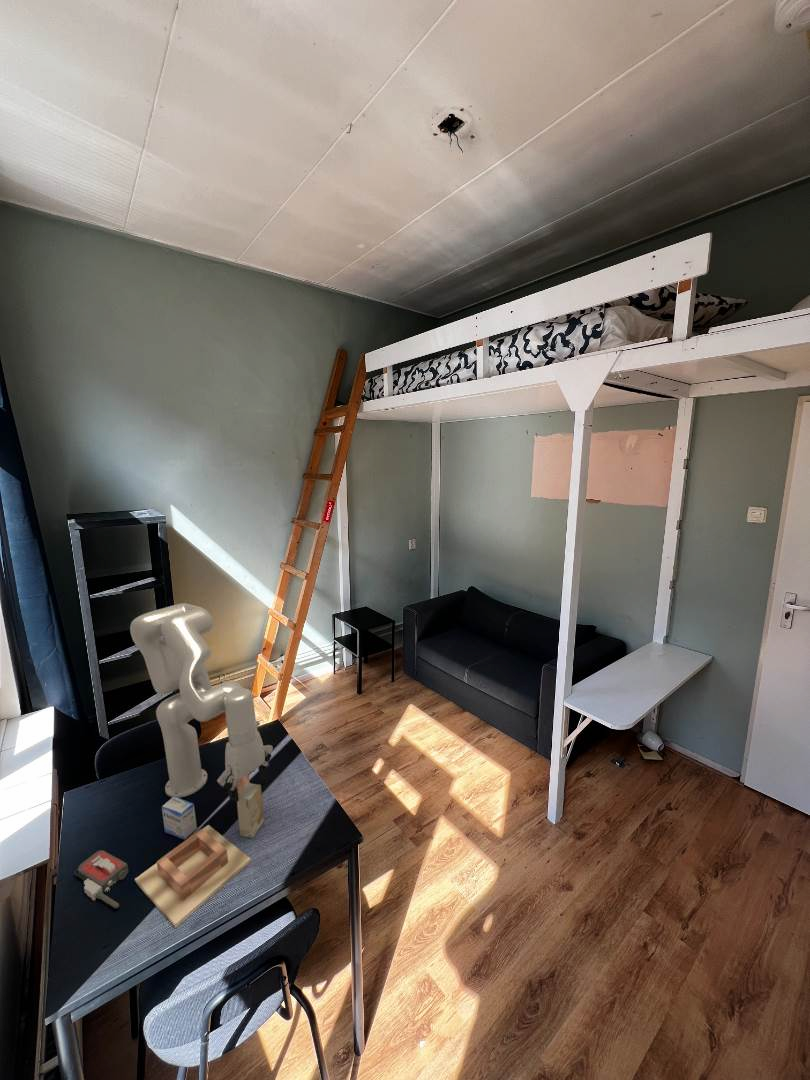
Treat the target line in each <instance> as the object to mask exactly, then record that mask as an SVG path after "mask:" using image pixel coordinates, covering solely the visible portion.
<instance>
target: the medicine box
mask: <svg viewBox="0 0 810 1080" xmlns="http://www.w3.org/2000/svg"><path fill="white" fill-rule="evenodd" d="M161 811H162V818H163V819H162V820H163V826H164V827H163V828H164V833H166V834H167V835H171V836H173V837H177V838H179V839H180V840H181V839H182V840H184V841H185V840H187V839H188V838H189V837H190V836H192V835H193V834H192V833H195V831H196V830H197V829H198V826H197V819H196V811H195V803H193V802H190V801H187V800H184V799H182V798H177V797H171V798H170V799H169V800H168V801H166V802H165V804H163V805H162V806H161Z"/></svg>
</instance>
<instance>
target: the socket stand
mask: <svg viewBox="0 0 810 1080" xmlns="http://www.w3.org/2000/svg"><path fill="white" fill-rule="evenodd" d="M251 862H252V859H251V857H249V856H248V855H247V854H246V853H244V852H243V851H241V849H239V848H238V847H237V846H236V845H234V844H233V843H232V842H230V841H229V840H228V839H227V838H226V837H224V836H223V835H222V834H220V833H219V832H218V831H217V830H215V828H213V827H212V826H211V825H209V824H208V825H206V826H204V827H203V828H200V829H199V830H197V831H196V832H194V834H191V835H190V836H188V837H187V838H186V839H185V840H184V841H182V842H181V843H180V844H178V846H176V847H174V848H173V849H172V850H170V851H168V852H167V853H166V854H165V855H163V856H162V857H161V858H160V859H158V860H157V861H156V863H155V864H153V865H152V866H150V867H149V868H148V869H146V870H145V871H144V872H142V873H141V874H140V875H139V876H137V877H135V878H134V882H136V883H135V884H136V885H137V886H138V887H139V888H140V889H141V890H142V892H143V893H144V894H145V896H146V897H148V898H149V899H150V901H151V902H152V903H153V904H154V906H156V908H157V909H159V911H160V912H161V913H162V914H163V916H164V917H166V918H167V920H168V921H169V922H170V923H171V924H172V926H174V928H175V929H177V928H178V927H179V926H180V925H181V924H182V923H183V922H185V921H186V920H187V919H188V918H189V917H190V916H191V915H193V914H194V912H196V911H197V910H198V909H199V908H200V907H202V906H203V905H204V904H205V903H206V902H208V900H209V899H211V898H212V897H213V896H214V895H215V894H216V893H217V892H219V891H220V890H221V889H222V888H223V887H225V885H226V884H228V883H229V882H230V881H231V880H233V878H235V876H237V875H238V874H239V873H240V872H241V871H242V870H244V869H245V868H246V867H247V866H248V865H249V864H251Z"/></svg>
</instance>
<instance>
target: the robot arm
mask: <svg viewBox="0 0 810 1080" xmlns="http://www.w3.org/2000/svg"><path fill="white" fill-rule="evenodd" d="M129 628H130V629H129V632H130V635H131V639H132V641H133V642H134V645H135V646H136V647H137V649H138V650H139V652H140V653H141V654H142V656H143V659H144V661H145V665H146V668H147V671H148V674H149V678H150V680H151V684H152V687H153V689H154V691H155V692H156V693H157V694H159V695H166V694H170V693H172V692H174V691H175V692H176V691H178V690H179V692H178V693H176V694H174V695H172V696H170V697H168V698H166V699H164V700H162V701H161V702H160V704H158V705H157V708H156V711H155V712H156V713H155V715H156V719H157V721H158V724H159V726H160V730H161V733H162V738H163V745H164V752H165V759H166V764H167V772H168V778H169V780H168V781H167V782H166V783H165V787H164V790H165V794H166V795H167V797H170V798H173V797H177V798H179V799H181V798H183V797H188V796H190V795H192V794H195V793H196V792H198V791H199V790H200V789H202V788H204V786H205V784H206V783H207V781H208V773H207V771H206V770H205V769H203V768H202V763H201V757H200V755H201V754H200V749H199V741H198V734H197V733H198V732H197V731H196V728H195V727H194V726H192V725H190V724H189V722H190V721H191V720H194V719H195V720H196V721H198V722H201V723H205V722H209V721H210V720H213V719H214V718H216V717H218V716H220V715H221V714H225V721H226V729H227V730H226V731H227V737H228V742H226V744H225V751H224V753H225V754H224V760H225V761H224V765H225V766H224V767H225V770H224V771H223V772H222V773H221V775H219V777H218V778H217V780H216V781H217V783H218V784H219V786H221V787H222V788H223V789H227V792H228V797H229V799H230V800H231V801H234V802H235V803H237V802H238V801H239V796H238V789H237V783H238V781H239V780H240V779H241V778H243V777H244V776H246V775H247V774H250V773H253V770H255V769H256V770H257V768H258V774H259V778H260V779H262V780H264V781H269V776H268V775H269V771H268V767H269V765H270V763H269V762H270V760H271V757H272V753H273V750H274V749H273V748H274V747H273V745H271V744H266V745H264V743H263V739H262V737H261V734H260V732H259V730H258V726H260V725H261V723H260V721H259V720H256V719H257V717H256V710H255V702H254V695H253V693H252V690H250V689H249V688H244V687H243V686H242V685H241V684H240V683H239V682H237V681H236V680H234V679H231V680H226V681H224V682H222V683H220V684H218V685H216V686H213V685H212V683H211V680H210V676H209V674H208V669H207V667H206V665H205V663H206V662H207V661H208V660H209V659H210V656H211V653H212V651H211V648H210V646H209V645H208V643H207V642H206V641H205V640H204V638H203V636H202V635H204V634H207V633H209V632H211V631H212V630H213V628H214V620H213V617H212V614H210V612H209V611H208V610H206V609H205V608H203V607H201V606H198V605H194V604H189V603H185V602H183V603H177V604H174V605H170V606H165V607H163V608H159V609H155V610H152V611H149V612H146V613H142V614H141V615H139V616H137V617H135V618H134V619H133V620H132V621H131V622H130V626H129ZM256 770H255V771H256Z"/></svg>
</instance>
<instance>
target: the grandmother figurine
mask: <svg viewBox="0 0 810 1080" xmlns="http://www.w3.org/2000/svg"><path fill="white" fill-rule="evenodd" d="M256 770H257V768H256V769H255V770H253V771H252V773H253V772H256ZM249 774H250V773H249ZM249 774H247V775H246V776H244V777H243V778H241V779H240V780H239V781H238V783H237V785H236V788H237V789H238V795H239V794H240V793H241V791H242V790H243V789H244V788H245V786H246V785H247V784H248V783H250V775H249Z"/></svg>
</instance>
